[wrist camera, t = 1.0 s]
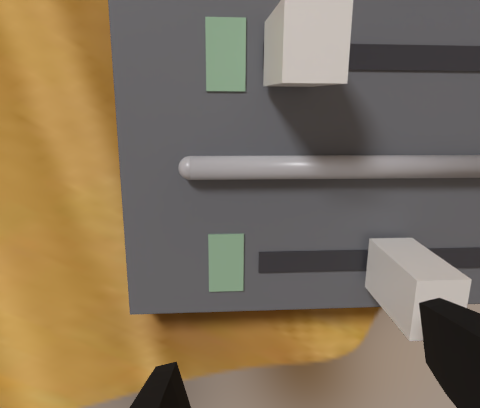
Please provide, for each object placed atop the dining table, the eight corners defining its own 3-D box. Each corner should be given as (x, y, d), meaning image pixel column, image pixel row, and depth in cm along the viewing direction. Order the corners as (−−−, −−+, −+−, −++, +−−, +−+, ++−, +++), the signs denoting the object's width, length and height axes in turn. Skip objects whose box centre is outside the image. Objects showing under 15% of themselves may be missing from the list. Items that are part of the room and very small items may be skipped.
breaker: (315, 23, 16) (353, -4, 12) (311, 86, 17) (347, 83, 12) (264, 22, 16) (284, -6, 12) (263, 86, 16) (282, 82, 12)
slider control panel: (559, 6, 19) (622, -10, 16) (506, 284, 22) (550, 312, 19) (118, -4, 17) (100, -24, 14) (137, 294, 21) (125, 325, 18)
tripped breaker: (411, 237, 19) (471, 279, 14) (406, 285, 19) (461, 339, 15) (369, 238, 18) (417, 280, 14) (364, 286, 19) (409, 341, 15)
